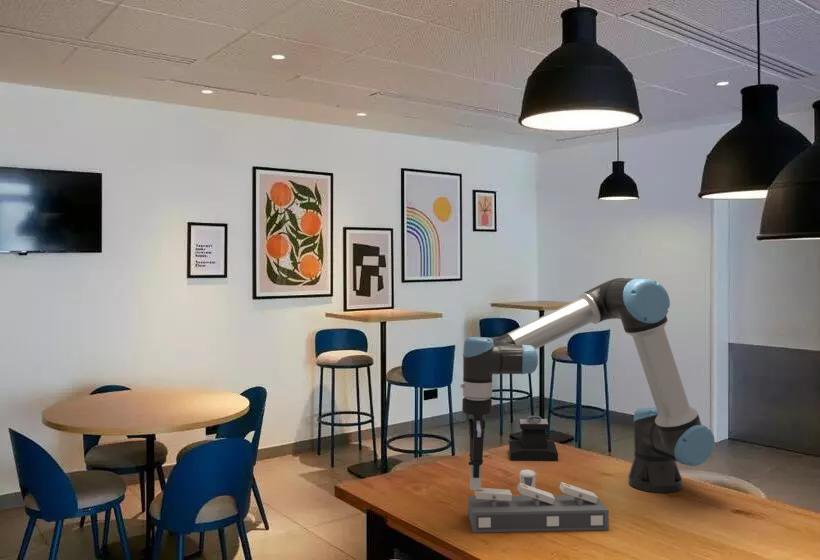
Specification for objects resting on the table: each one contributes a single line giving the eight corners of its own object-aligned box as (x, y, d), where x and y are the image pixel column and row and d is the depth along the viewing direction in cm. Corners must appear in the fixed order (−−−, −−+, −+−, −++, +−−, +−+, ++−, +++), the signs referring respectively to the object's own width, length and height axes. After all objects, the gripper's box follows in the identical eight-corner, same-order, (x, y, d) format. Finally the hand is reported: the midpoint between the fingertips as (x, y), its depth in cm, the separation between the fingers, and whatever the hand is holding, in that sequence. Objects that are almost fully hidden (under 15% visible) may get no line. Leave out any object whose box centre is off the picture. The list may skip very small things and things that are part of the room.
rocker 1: (509, 495, 179) (509, 489, 179) (511, 501, 174) (512, 494, 174) (474, 493, 179) (475, 486, 179) (476, 499, 174) (477, 492, 174)
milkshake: (539, 506, 189) (538, 469, 189) (519, 505, 190) (518, 469, 190) (539, 500, 193) (538, 465, 193) (520, 499, 194) (519, 464, 194)
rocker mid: (549, 498, 179) (551, 492, 179) (553, 505, 175) (555, 498, 175) (516, 487, 179) (519, 481, 179) (519, 493, 174) (522, 487, 174)
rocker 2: (591, 498, 179) (593, 491, 179) (596, 504, 175) (598, 497, 175) (558, 487, 179) (560, 481, 179) (562, 492, 175) (565, 486, 174)
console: (595, 512, 183) (595, 489, 183) (609, 530, 171) (608, 505, 171) (468, 515, 183) (467, 491, 183) (472, 532, 171) (472, 507, 170)
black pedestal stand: (510, 423, 232) (508, 409, 247) (510, 464, 233) (508, 448, 248) (557, 423, 230) (553, 409, 245) (557, 464, 232) (553, 448, 247)
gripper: (460, 392, 183) (458, 480, 183) (464, 402, 170) (462, 497, 170) (488, 393, 183) (486, 481, 183) (495, 402, 170) (493, 497, 170)
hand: (475, 488), depth 177 cm, fingers closed
